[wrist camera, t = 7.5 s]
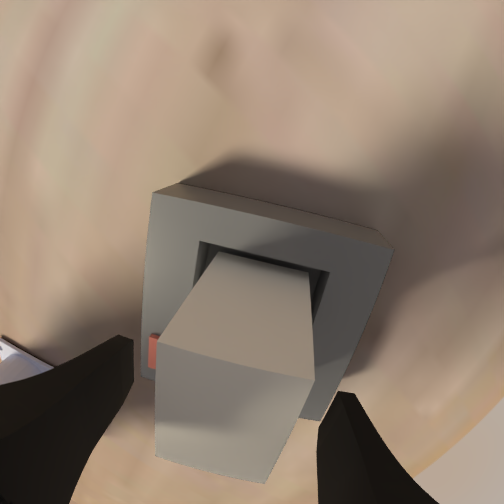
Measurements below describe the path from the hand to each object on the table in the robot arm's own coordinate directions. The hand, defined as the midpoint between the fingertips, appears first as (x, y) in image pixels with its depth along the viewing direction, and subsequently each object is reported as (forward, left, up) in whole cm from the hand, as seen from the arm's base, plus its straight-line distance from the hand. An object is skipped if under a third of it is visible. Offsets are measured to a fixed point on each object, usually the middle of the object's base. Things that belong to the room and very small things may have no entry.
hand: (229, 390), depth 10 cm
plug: (0, 0, -6) cm, 6 cm away
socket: (0, 0, -7) cm, 7 cm away
